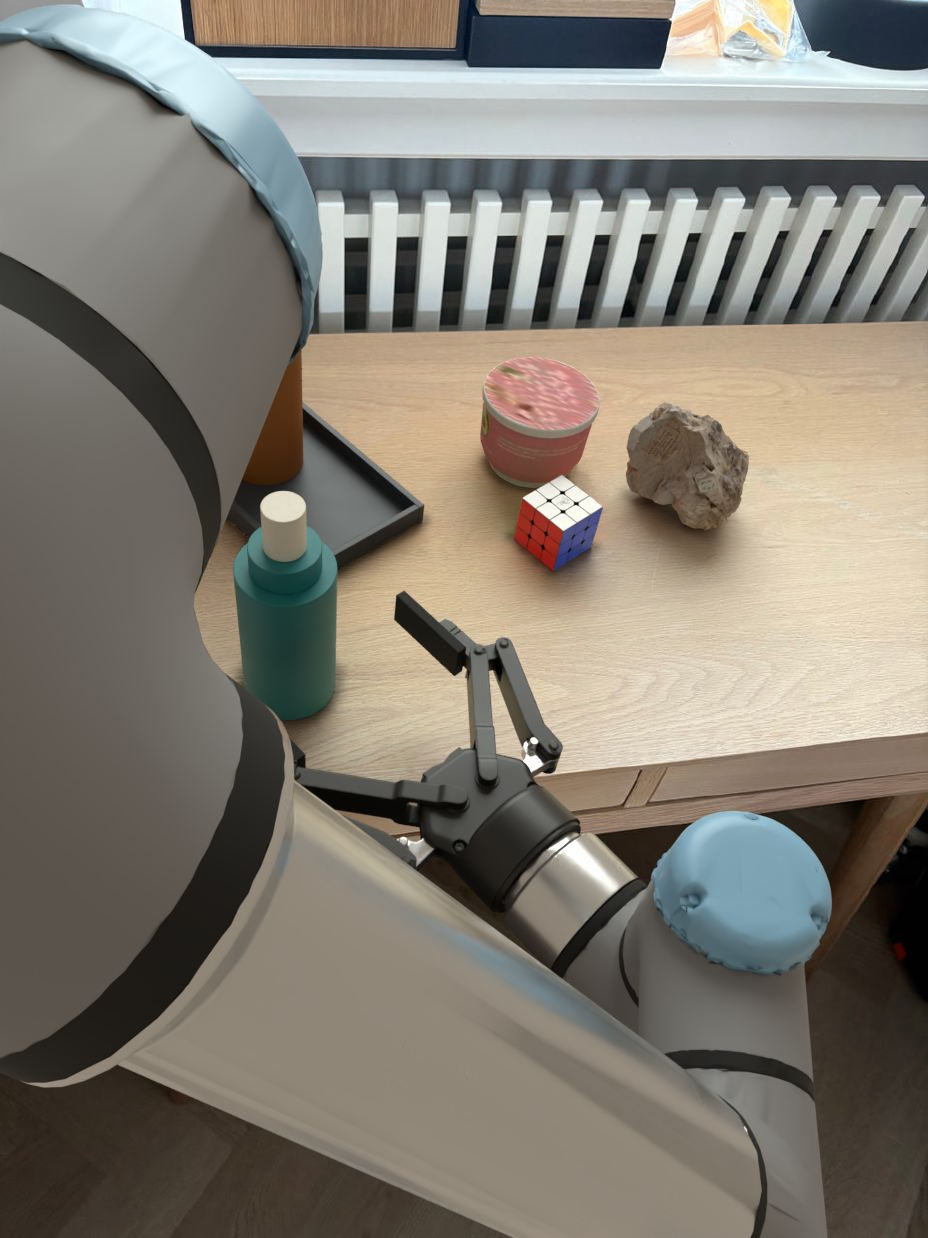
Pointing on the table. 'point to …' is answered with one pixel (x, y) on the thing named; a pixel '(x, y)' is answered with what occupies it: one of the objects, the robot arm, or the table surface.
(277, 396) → the bottle mid
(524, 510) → the rubik's cube
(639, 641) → the table surface
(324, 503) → the tray
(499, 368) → the container
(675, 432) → the rock
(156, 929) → the robot arm
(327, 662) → the bottle
